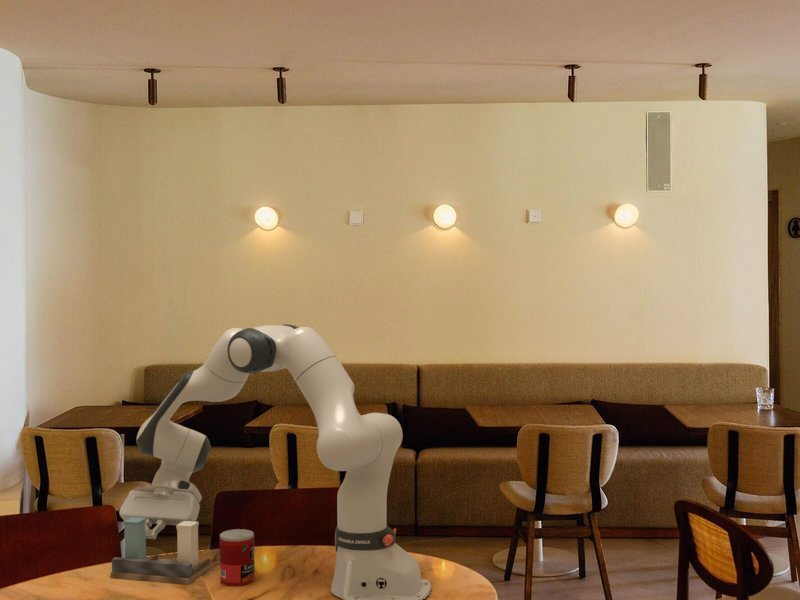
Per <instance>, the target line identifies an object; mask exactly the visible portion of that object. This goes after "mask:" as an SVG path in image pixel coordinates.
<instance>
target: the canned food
mask: <svg viewBox="0 0 800 600" xmlns="http://www.w3.org/2000/svg"><path fill="white" fill-rule="evenodd" d="M219 579H220V582H221V584H223V585H226V586H229V587H241V586H242V587H243V586H246V585H249V584H251V583H252V582H254V579H255V533H254V532H253V531H252V530H249V529H246V528H245V529H244V528H242V529H240V528H236V529H234V528H233V529H229V530H228V529H227V530H225V531H222V532H221V533H220V534H219Z"/></svg>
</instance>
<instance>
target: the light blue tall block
mask: <svg viewBox="0 0 800 600" xmlns="http://www.w3.org/2000/svg"><path fill="white" fill-rule="evenodd" d="M145 522H146V518H137V517H132V518H130V519H128V520H125V521H124V520H123V525H124V558H133V559H145V560H146V557H147V548H146V547H147V546H146V545H147V544H146V543H147V542H146V526H145Z"/></svg>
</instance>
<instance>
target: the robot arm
mask: <svg viewBox="0 0 800 600" xmlns="http://www.w3.org/2000/svg"><path fill="white" fill-rule="evenodd" d="M284 369H287V370H288V372H289V374H290V375H291V376H292V378H293V380H294V382H295V384H296V385H297V387H298V388H299V390H300V392H301V393H302V394H303V396H304V397H305V400H306V402H307V403H308V405H309V407H310V408H311V411H312V413H313V415H314V418H315V421H316V426H317V430H318V438H317V441H316V451H317V456H318V459H319V460H320V463H322V464H323V465H324V466H325V468H327V469H329V470H331V471H335V472H346V473H345V476H344V479H343V482H342V483H341V484H340V487H338V488H339V489H338V490H337V496H336V497H337V499H336V500H337V501H336V502H337V503H336V506H337V508H336V509H337V510H336V511H337V512H336V514H337V516H336V517H337V519H336V520H337V526H336V527H335V532H334V546H335V552H336V559H335V567H334V574H333V579H332V581H331V586H330V592H331V594H332V595H334V596H335V597H338V598H340V599H341V600H423V599H425V598H426V597H427V596H428V595H429V596H430V594H431V592H432V584H431V582H430V580H428V579H425V578H422V573H421V568H420V565H419V563H418V560H417V559H416V558H415V557H414V556H412V555H411V554H410V553H408V552H407V551H406V550H404V549H403V548H402V547H401V546H400V545H399V544H397V543H396V534H397V532H396V531H397V528H396V527H395V528H394V529H392V528H391V527H390V526H388V524H387V508H388V507H387V505H388V502H387V499H388V498H387V497H388V487H389V482H390V481H389V480H390V477H391V472H392V468H393V464H394V459H395V457H396V454H397V451H398V449H399V448H400V447H401V445H402V442H403V439H404V438H403V437H404V436H403V435H404V433H403V428H402V426H401V424H400V422H399V421H398V419H397V418H395V417H394V416H392V415H391V414H388V413H383V412H370V413H366V414H363V415H361V414H360V413H359V411H358V408H357V406H356V403H355V399H354V394H355V384H354V382H353V380H352V379H351V377H350V375H349V373H348V372H347V370H346V369H345V367H344V366H343V364H342V363H341V362H340V360H339V359H338V357H337V355H336V353H335V352H334V351H333V349H332V348H331V347H330V345H329V344H328V343H327V342H326V341H325V339H324V338H323V337H322V336H321V335H320V334H319V333H318V332H317V331H316V330H315V329H314V328H311V327H308V326H301V327H300V326H296V325H292V324H289V323H287V324H280V325H279V324H278V325H277V324H276V325H275V324H274V325H271V324H270V325H269V324H266V325H265V324H264V325H260V326H255V327H247V328H241V327H231V328H229V329H227V330H225V331H224V332H223V333H222V335H221V336H220V337H219V338H218V340H217V341H216V343H215V344H214V346H213V347H212V349H211V350H210V353H209V354H208V356H207V357H206V360H205V362H204V363H203V364H202V365H201V366H199V367H198V368H197V369H195V370H188V371H186V372H185V373H184V374H183V375H181V377H180V378H179V379H178V380H177V382H176V383H174V385H173V386H172V388H171V389H170V390H169V391H168V393H167V394H166V395H165V397H164V399H162V401H161V402H160V404H159V405H158V406H157V407H156V409H155V410H154V412H152V413H151V415H150V416H149V417H148V418H147V419H146V420H145V421H144V422H143V423H142V425H141V426H140V427H139V430H138V432H137V435H136V439H135V442H136V443H135V444H136V445H137V447H138V450H139V451H140V453H142V454H144V455H146V456H149V457H150V456H151V457H154V458H158V459H160V460H161V462H160V463H161V464H160V466H159V468H158V469H157V471H156V473H155V475H154V477H153V480H152V483H151V484H150V487H141V486H138V487H136V488H133V489H132V490H130V491H129V493H128V495H127V496H126V498H125V500H124V501H123V503H122V505H121V506H120V508H119V511H118V513H119V516H120V518H121V519H122V520H123V522H124V521H125V520H128V519H130V518H132V517H137V518H146V522H145V526H146V539H148V540H149V539H150V540H156V539H157V536H158V534H159V533H160V532H161V531H163V530H164V529H165V527H166V526H167V525H168V526H169V525H170V526H176V525H178V524H179V523H181V522H183V521H194V522H197V519H198V516H199V513H200V509H201V505H200V502H201V500H202V499H203V497H202V494H201V492H200V491H199V489H198V488H197V486H196V485H195V484H194V482H190V477H191V475H192V474H194V473H197V472H198V471H200V470H202V469H203V468H204V466H205V464H206V460H207V458H208V454H209V453H210V451H211V449H212V448H211V447H212V446H211V443H210V440H209V438H208V437H207V435H205V434H203V433H201V432H199V431H197V430H194V429H191V428H188V427H185V426H183V425H181V424H179V423H175V422H173V421H171V418H172V416H173V415H174V414H175V413H176V412H177V410H178V409H179V407H180V406H181V405H182V404H184V403H186V402H193V401H196V402H197V401H199V402H200V401H201V402H210V403H211V402H212V403H216V402H218V403H219V402H225V401H229V400H231V399H232V398H235V397H236V396H237V395H238V394H239V393H240V391H242V388H243V387H244V386H245V384H246V382H247V380H248V377H249V375H250V374H258V373H267V372H275V371H276V372H277V371H280V370H284ZM153 524H155V526H154V527H153V528H152V529H150V528H151V527H152V526H153ZM430 591H431V592H430ZM429 593H430V594H429ZM429 596H428V597H429ZM428 597H427V598H428ZM427 598H426V599H427ZM426 599H425V600H426Z"/></svg>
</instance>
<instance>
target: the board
mask: <svg viewBox="0 0 800 600" xmlns="http://www.w3.org/2000/svg"><path fill="white" fill-rule="evenodd" d="M212 563H213V562H211V558H205V559H204V560H203V561H198V565H197V566H195V567H194V568H192V563H182V562H178V559H171V558H159V554H157V553H154V554H153V555H152V556H150V557H147V556H146V560H145V559H133V558H125V557H118V556H117V557H116V556H115V557H113V558H111V572H110V578H111V579H121V580H131V581H145V582H153V583H164V584H165V583H166V584H176V585H177V584H179V585H189V584H191V583H192V582H194V581H195V580H196V579H198V578H199V577H201V576H202V575H203V574H205V573H207V572H208V571H209V570H210V569H212V568H213V565H212Z"/></svg>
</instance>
